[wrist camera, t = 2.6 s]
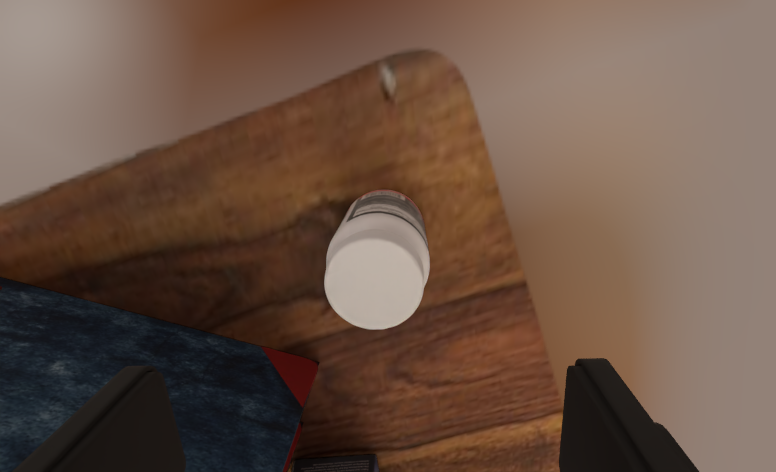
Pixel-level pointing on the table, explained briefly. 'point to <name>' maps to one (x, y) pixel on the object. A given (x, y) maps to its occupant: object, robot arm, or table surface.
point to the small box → (338, 464)
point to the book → (145, 348)
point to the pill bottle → (378, 261)
